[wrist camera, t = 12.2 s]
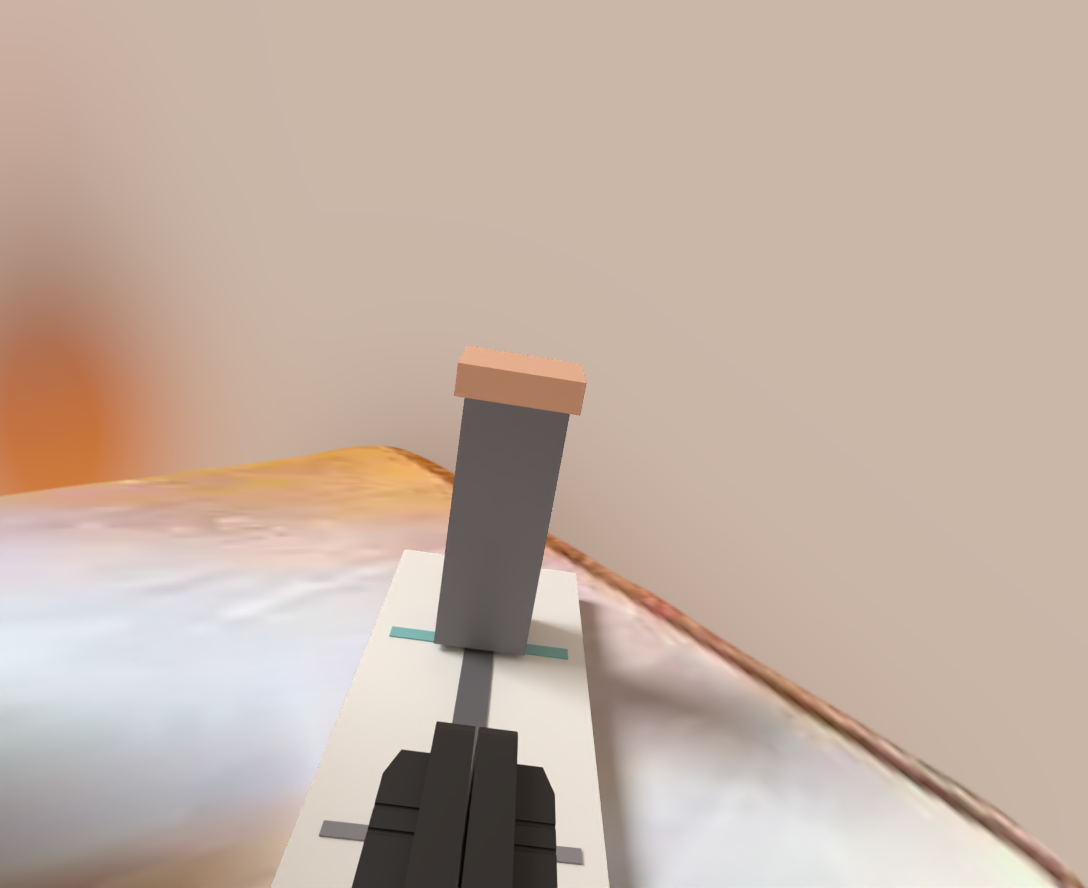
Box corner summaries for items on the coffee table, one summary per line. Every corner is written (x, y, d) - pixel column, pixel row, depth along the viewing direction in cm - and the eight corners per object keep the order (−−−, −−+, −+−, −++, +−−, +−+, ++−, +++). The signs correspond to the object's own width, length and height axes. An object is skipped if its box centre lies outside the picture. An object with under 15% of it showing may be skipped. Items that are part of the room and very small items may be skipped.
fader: (424, 642, 34) (458, 362, 29) (435, 600, 38) (467, 345, 33) (533, 656, 35) (586, 383, 29) (534, 613, 38) (580, 363, 33)
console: (234, 1017, 20) (234, 974, 19) (402, 574, 44) (404, 547, 44) (610, 1051, 21) (623, 1011, 20) (570, 596, 45) (576, 571, 44)
